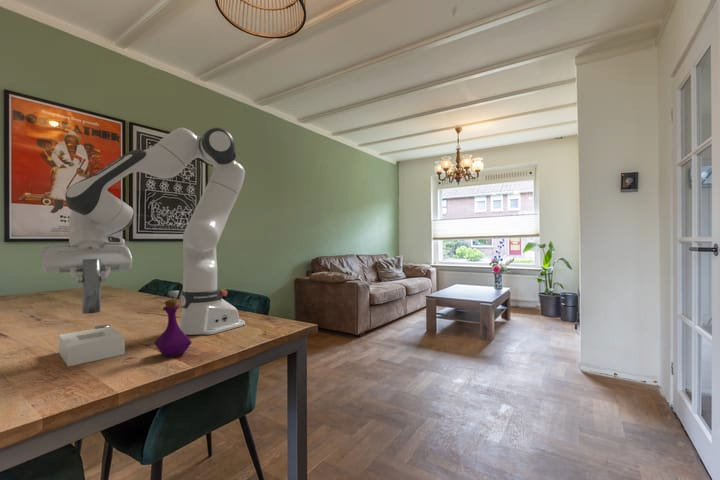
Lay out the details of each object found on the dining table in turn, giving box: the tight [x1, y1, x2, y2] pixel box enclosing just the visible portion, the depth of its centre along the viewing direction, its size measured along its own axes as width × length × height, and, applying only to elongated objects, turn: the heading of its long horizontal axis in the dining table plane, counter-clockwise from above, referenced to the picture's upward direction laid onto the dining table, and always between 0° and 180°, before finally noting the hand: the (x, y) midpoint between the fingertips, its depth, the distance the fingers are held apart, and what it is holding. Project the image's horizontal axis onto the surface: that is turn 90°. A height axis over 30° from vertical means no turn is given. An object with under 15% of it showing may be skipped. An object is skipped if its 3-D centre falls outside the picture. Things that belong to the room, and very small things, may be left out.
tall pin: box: [81, 259, 102, 315], centre depth 93 cm, size 4×4×15 cm
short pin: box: [94, 324, 112, 329], centre depth 105 cm, size 4×4×4 cm
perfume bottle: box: [153, 290, 192, 358], centre depth 92 cm, size 8×8×18 cm
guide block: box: [58, 326, 126, 367], centre depth 93 cm, size 12×16×5 cm
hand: (91, 281), depth 92 cm, fingers closed on tall pin, 4 cm apart
